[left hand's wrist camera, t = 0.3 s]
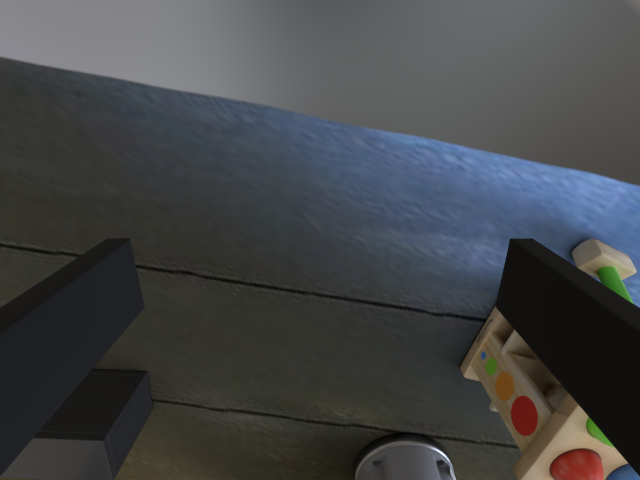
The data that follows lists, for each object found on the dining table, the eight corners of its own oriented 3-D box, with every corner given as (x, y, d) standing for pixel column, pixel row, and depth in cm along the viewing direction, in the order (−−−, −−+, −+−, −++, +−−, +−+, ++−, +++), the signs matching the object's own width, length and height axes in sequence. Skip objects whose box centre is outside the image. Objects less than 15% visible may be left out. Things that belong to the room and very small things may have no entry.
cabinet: (30, 402, 51) (-41, 476, 41) (18, 365, 49) (-61, 434, 39) (153, 408, 52) (112, 482, 42) (147, 371, 49) (102, 441, 39)
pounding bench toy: (542, 220, 41) (695, 302, 24) (647, 253, 42) (859, 352, 26) (457, 369, 49) (528, 508, 32) (547, 392, 50) (659, 536, 34)
